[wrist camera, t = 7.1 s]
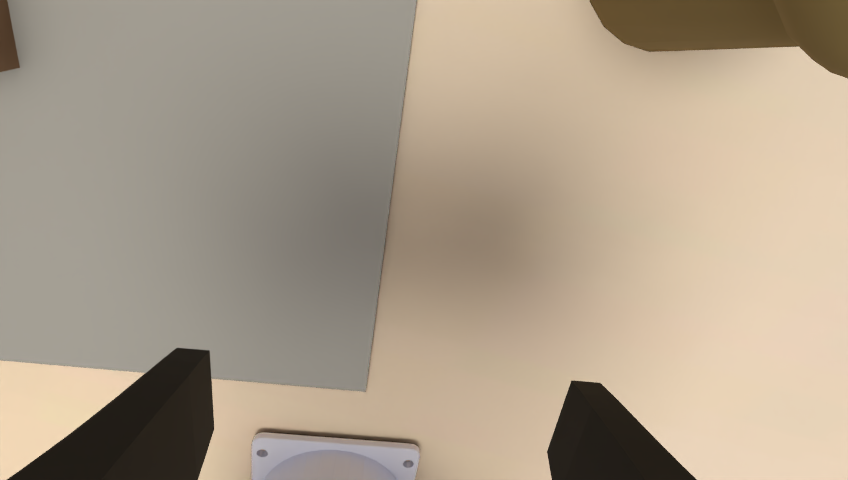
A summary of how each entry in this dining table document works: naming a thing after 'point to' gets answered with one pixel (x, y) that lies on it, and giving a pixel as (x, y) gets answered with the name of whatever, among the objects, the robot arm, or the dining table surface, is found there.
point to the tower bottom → (7, 40)
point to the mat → (200, 183)
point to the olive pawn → (732, 26)
